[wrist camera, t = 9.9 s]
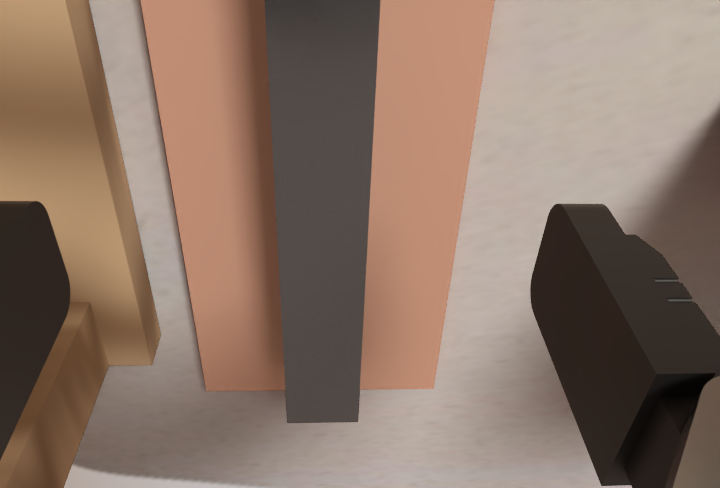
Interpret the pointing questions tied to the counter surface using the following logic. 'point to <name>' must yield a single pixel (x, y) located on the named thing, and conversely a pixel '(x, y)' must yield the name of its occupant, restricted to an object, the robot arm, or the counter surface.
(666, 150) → the counter surface
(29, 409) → the rail stand
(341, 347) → the rail
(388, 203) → the mat
